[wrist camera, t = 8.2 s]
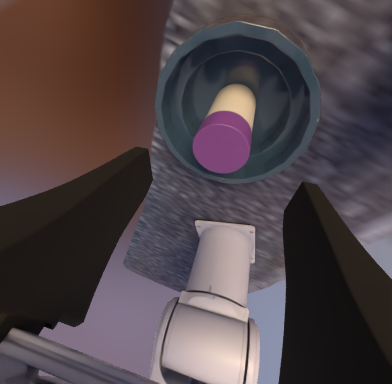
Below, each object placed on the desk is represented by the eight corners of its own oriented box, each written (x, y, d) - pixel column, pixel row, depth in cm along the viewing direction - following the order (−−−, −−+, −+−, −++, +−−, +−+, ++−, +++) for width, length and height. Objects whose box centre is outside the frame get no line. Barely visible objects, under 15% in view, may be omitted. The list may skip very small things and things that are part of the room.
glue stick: (256, 124, 15) (250, 174, 11) (216, 126, 16) (197, 173, 12) (257, 79, 13) (249, 121, 9) (211, 85, 14) (186, 126, 10)
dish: (300, 157, 16) (304, 185, 14) (188, 158, 20) (177, 181, 18) (332, -9, 10) (350, -7, 7) (154, 35, 13) (128, 46, 11)
